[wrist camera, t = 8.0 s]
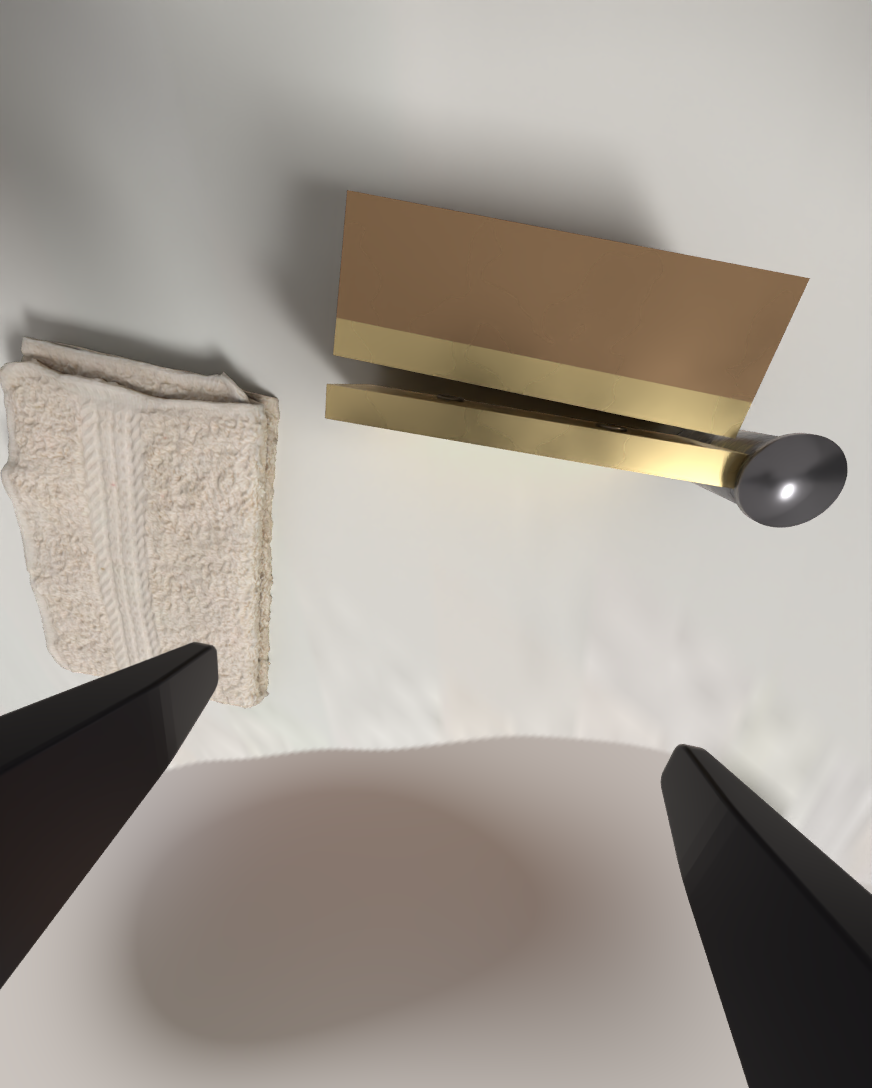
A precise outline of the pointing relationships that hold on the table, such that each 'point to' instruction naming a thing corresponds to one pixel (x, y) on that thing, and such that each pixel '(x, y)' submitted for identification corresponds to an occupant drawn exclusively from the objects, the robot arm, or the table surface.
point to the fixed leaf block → (558, 314)
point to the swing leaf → (622, 448)
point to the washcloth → (143, 510)
